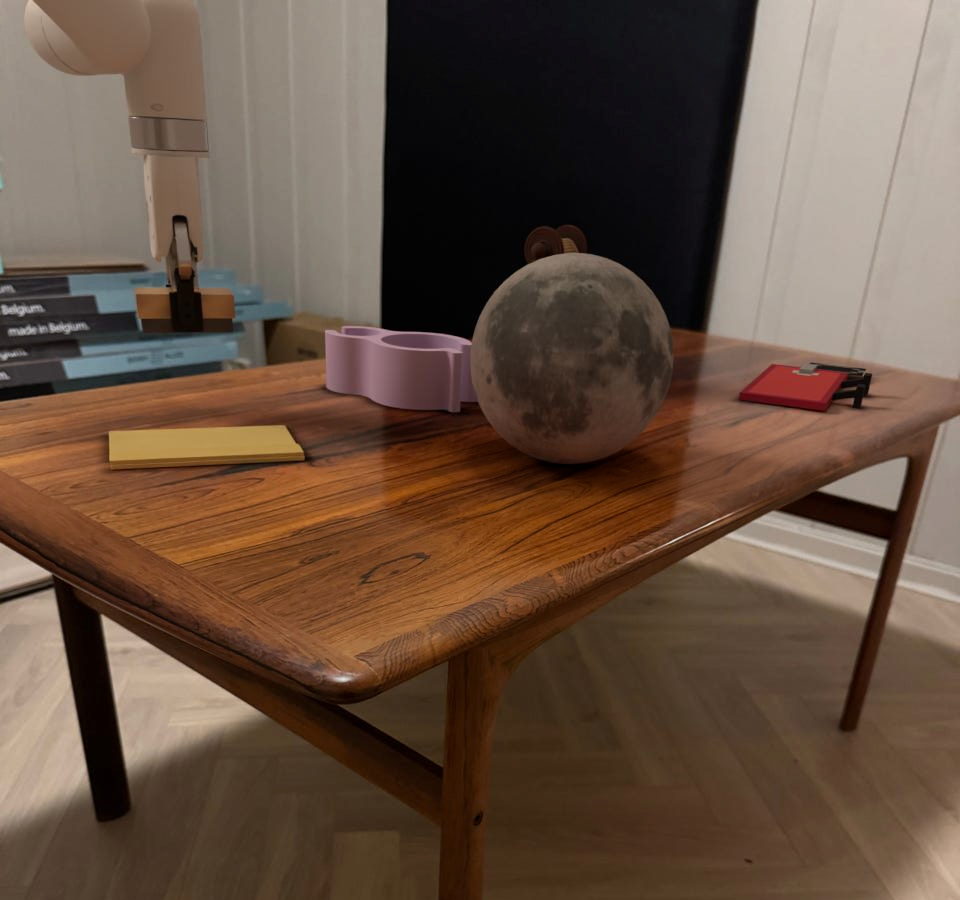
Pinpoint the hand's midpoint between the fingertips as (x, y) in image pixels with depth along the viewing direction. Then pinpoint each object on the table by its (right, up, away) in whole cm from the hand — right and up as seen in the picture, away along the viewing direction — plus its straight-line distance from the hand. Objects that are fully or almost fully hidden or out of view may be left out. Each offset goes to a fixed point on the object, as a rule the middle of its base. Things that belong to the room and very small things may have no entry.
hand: (186, 325), depth 104 cm
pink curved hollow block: (+22, -4, +17) cm, 28 cm away
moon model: (+41, -16, -5) cm, 44 cm away
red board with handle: (+80, +2, +34) cm, 87 cm away
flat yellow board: (+4, -15, -8) cm, 18 cm away
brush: (0, 0, 0) cm, 0 cm away
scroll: (+41, +1, +28) cm, 50 cm away
